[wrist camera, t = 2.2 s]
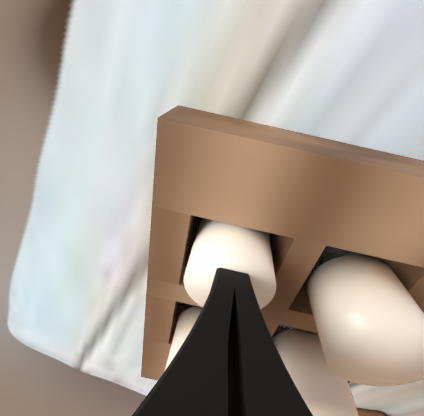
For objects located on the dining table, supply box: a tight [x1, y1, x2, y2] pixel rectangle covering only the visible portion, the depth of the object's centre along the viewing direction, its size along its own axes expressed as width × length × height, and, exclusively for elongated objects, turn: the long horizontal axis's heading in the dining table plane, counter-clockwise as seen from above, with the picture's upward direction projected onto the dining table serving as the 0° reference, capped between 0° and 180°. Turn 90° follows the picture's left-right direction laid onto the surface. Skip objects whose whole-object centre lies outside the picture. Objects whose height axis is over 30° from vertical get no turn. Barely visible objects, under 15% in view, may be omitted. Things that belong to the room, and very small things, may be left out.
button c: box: [306, 255, 424, 386], centre depth 10 cm, size 4×4×4 cm
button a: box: [184, 218, 276, 309], centre depth 12 cm, size 4×4×4 cm
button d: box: [272, 328, 359, 416], centre depth 13 cm, size 4×4×4 cm
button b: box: [165, 306, 203, 370], centre depth 13 cm, size 4×4×4 cm
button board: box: [141, 106, 424, 383], centre depth 14 cm, size 14×20×4 cm
